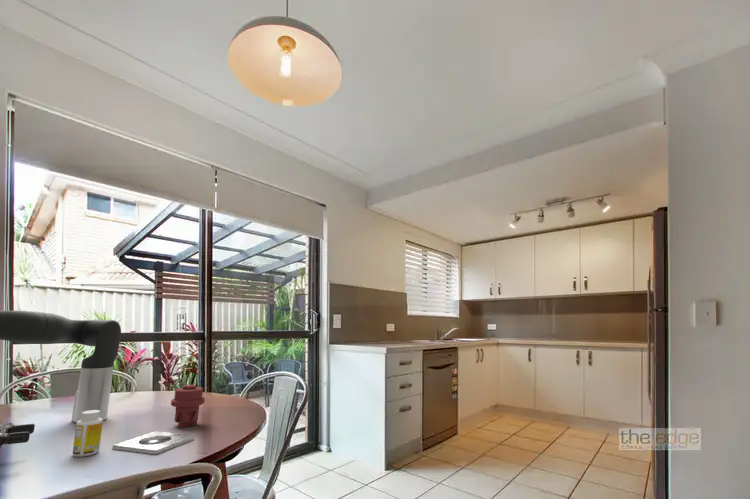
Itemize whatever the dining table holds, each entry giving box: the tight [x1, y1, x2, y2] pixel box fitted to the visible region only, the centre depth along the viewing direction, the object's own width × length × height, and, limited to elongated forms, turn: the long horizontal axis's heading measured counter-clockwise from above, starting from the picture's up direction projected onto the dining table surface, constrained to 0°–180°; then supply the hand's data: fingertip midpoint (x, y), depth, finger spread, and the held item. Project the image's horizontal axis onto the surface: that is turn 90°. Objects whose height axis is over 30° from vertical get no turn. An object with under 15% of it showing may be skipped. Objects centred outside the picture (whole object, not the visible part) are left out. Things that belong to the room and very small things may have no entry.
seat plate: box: [112, 430, 195, 456], centre depth 110 cm, size 14×14×1 cm
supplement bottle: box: [72, 410, 104, 458], centre depth 102 cm, size 6×6×10 cm
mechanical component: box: [170, 384, 206, 429], centre depth 131 cm, size 12×10×10 cm
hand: (31, 432), depth 96 cm, fingers open, 8 cm apart
